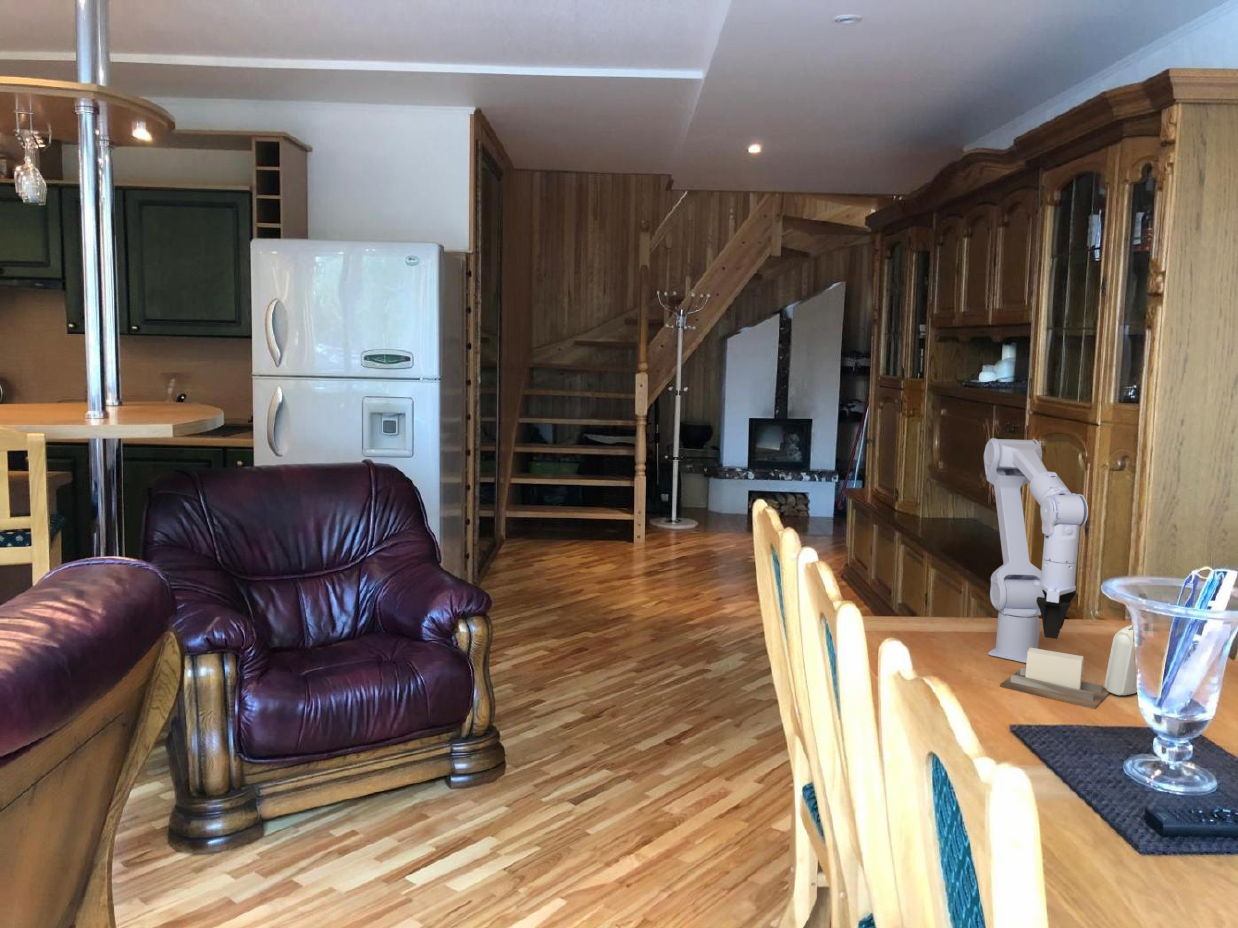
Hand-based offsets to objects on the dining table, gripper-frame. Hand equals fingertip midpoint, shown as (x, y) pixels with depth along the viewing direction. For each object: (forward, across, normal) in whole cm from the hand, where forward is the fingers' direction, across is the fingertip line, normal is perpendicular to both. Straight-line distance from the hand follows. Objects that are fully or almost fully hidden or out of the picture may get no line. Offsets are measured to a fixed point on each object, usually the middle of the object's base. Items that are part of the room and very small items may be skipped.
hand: (1053, 632), depth 179 cm
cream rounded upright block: (+9, -3, +13) cm, 16 cm away
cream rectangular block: (+9, +3, +1) cm, 10 cm away
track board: (+9, +3, +2) cm, 10 cm away
